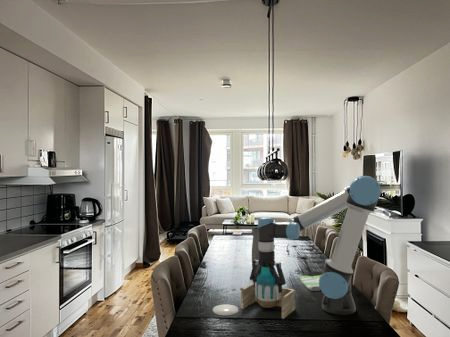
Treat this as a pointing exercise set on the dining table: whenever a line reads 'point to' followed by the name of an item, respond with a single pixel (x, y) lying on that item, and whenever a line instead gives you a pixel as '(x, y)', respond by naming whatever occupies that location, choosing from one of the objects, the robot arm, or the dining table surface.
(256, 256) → the vase
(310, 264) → the dining table surface
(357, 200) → the robot arm
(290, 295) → the light wood u-shaped piece
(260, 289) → the vase
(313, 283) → the dish towel
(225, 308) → the disc
